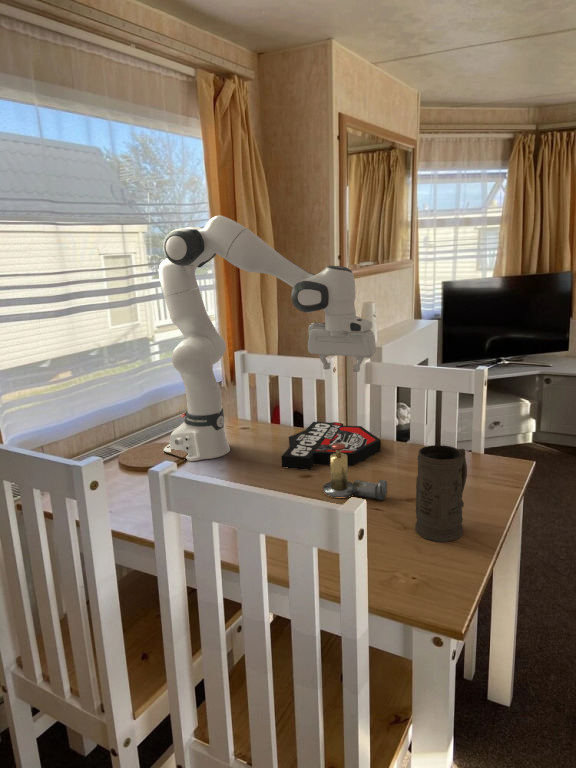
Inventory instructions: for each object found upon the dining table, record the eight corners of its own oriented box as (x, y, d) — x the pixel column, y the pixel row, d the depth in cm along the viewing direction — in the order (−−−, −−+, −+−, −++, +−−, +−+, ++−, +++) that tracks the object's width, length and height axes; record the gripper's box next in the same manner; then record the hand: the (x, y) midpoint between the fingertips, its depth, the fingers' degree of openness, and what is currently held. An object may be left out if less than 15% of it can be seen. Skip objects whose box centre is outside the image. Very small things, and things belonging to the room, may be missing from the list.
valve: (328, 489, 155) (326, 447, 152) (335, 482, 159) (334, 441, 156) (343, 492, 153) (343, 449, 150) (350, 485, 157) (349, 443, 154)
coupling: (317, 495, 155) (317, 477, 153) (331, 482, 162) (331, 465, 161) (378, 506, 147) (378, 487, 145) (389, 492, 154) (389, 474, 153)
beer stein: (448, 548, 126) (454, 461, 122) (405, 534, 133) (408, 451, 129) (477, 525, 137) (482, 445, 133) (435, 513, 144) (440, 436, 140)
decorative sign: (276, 470, 174) (377, 474, 167) (276, 457, 173) (377, 460, 166) (299, 432, 206) (383, 434, 200) (298, 421, 205) (383, 423, 199)
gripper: (303, 323, 167) (305, 370, 171) (369, 326, 158) (370, 375, 161) (312, 320, 173) (314, 365, 176) (377, 322, 163) (377, 370, 166)
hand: (341, 370), depth 169 cm, fingers open, 8 cm apart
